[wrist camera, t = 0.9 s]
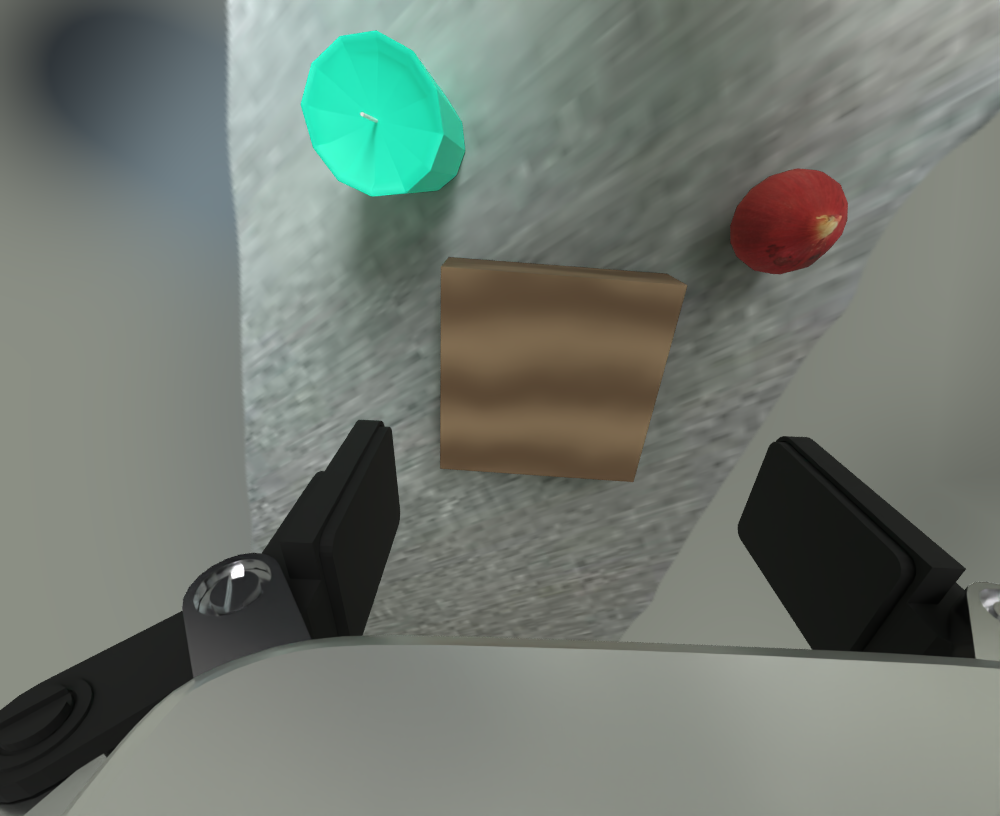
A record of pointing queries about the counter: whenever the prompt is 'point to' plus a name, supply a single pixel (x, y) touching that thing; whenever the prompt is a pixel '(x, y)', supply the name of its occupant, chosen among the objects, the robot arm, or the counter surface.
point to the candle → (381, 117)
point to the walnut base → (551, 366)
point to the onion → (788, 221)
